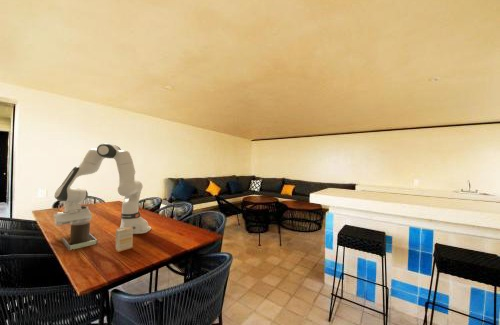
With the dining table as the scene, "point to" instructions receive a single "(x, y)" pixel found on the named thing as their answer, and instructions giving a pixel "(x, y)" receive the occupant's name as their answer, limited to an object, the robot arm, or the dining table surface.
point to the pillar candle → (79, 232)
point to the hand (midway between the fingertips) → (75, 227)
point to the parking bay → (70, 247)
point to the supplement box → (124, 238)
